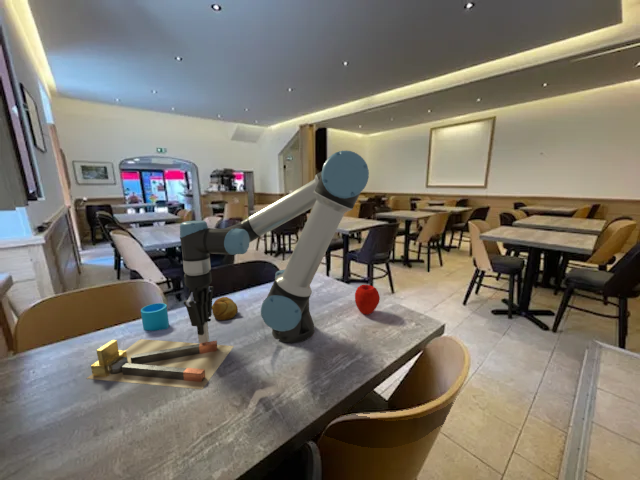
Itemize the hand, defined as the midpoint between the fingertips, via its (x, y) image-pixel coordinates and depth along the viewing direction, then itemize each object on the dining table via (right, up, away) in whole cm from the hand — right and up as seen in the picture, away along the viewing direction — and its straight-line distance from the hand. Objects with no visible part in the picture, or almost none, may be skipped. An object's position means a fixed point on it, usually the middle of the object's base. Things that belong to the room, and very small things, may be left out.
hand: (204, 341), depth 88 cm
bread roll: (-2, +2, +24) cm, 24 cm away
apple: (+57, +2, +26) cm, 62 cm away
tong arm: (-6, -2, -5) cm, 8 cm away
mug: (-24, 0, +16) cm, 29 cm away
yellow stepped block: (-22, -3, -11) cm, 24 cm away
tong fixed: (-7, -4, -12) cm, 15 cm away
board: (-8, -4, -7) cm, 11 cm away
